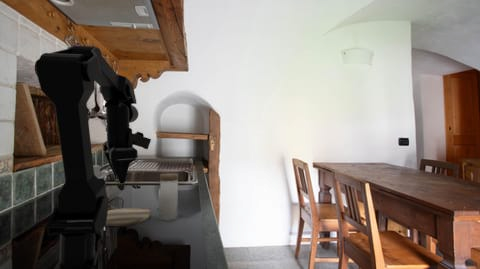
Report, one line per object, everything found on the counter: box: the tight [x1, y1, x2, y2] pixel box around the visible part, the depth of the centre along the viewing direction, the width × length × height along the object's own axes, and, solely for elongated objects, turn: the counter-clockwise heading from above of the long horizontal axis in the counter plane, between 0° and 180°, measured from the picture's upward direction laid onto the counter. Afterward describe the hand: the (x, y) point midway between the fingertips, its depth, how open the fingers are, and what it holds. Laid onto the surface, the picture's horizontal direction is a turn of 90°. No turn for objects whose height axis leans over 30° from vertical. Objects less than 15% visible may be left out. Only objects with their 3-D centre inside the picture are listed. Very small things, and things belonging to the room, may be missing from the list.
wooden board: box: [106, 207, 152, 227], centre depth 78 cm, size 16×16×1 cm
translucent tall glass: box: [159, 172, 179, 221], centre depth 79 cm, size 5×5×14 cm
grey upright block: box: [158, 188, 160, 211], centre depth 90 cm, size 6×6×7 cm
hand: (119, 179), depth 72 cm, fingers open, 9 cm apart
